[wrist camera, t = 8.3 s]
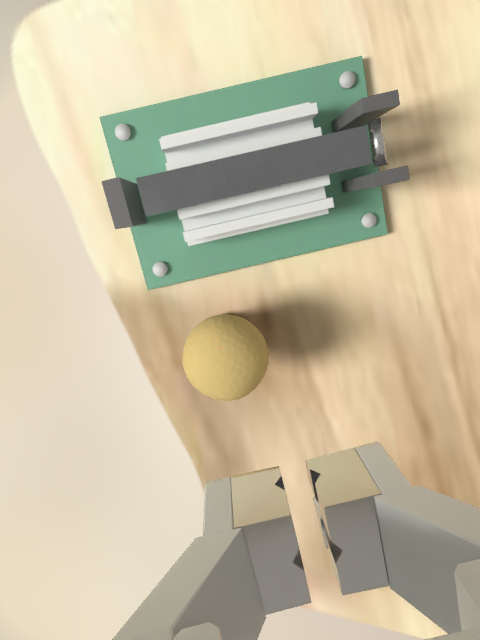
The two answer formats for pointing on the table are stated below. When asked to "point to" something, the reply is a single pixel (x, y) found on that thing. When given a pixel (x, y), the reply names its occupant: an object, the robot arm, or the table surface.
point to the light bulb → (225, 357)
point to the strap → (262, 169)
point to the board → (226, 110)
